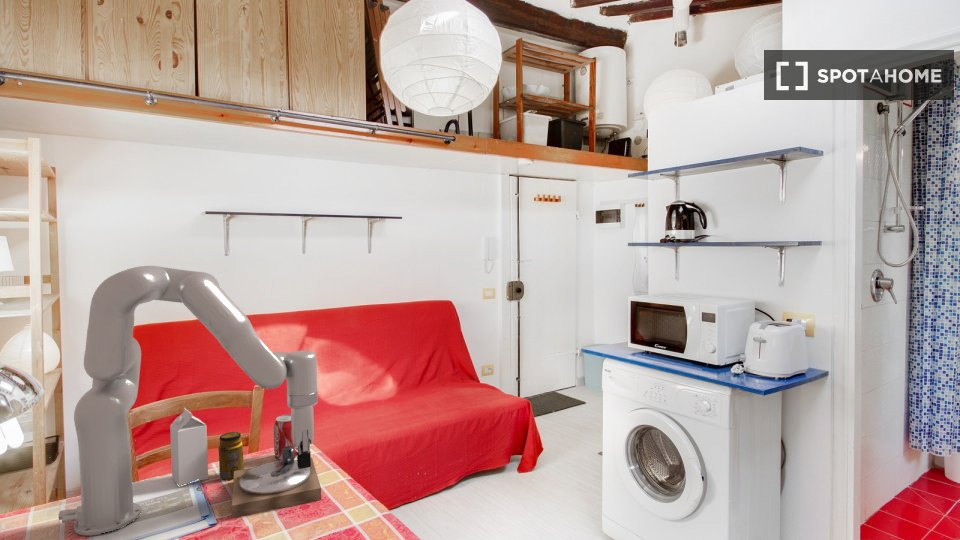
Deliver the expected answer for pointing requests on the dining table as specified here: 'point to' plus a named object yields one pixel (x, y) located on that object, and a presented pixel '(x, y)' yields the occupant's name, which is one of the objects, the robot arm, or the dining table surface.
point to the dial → (275, 476)
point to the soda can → (283, 435)
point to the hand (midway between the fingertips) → (304, 466)
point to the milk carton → (188, 449)
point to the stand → (273, 496)
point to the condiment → (230, 455)
